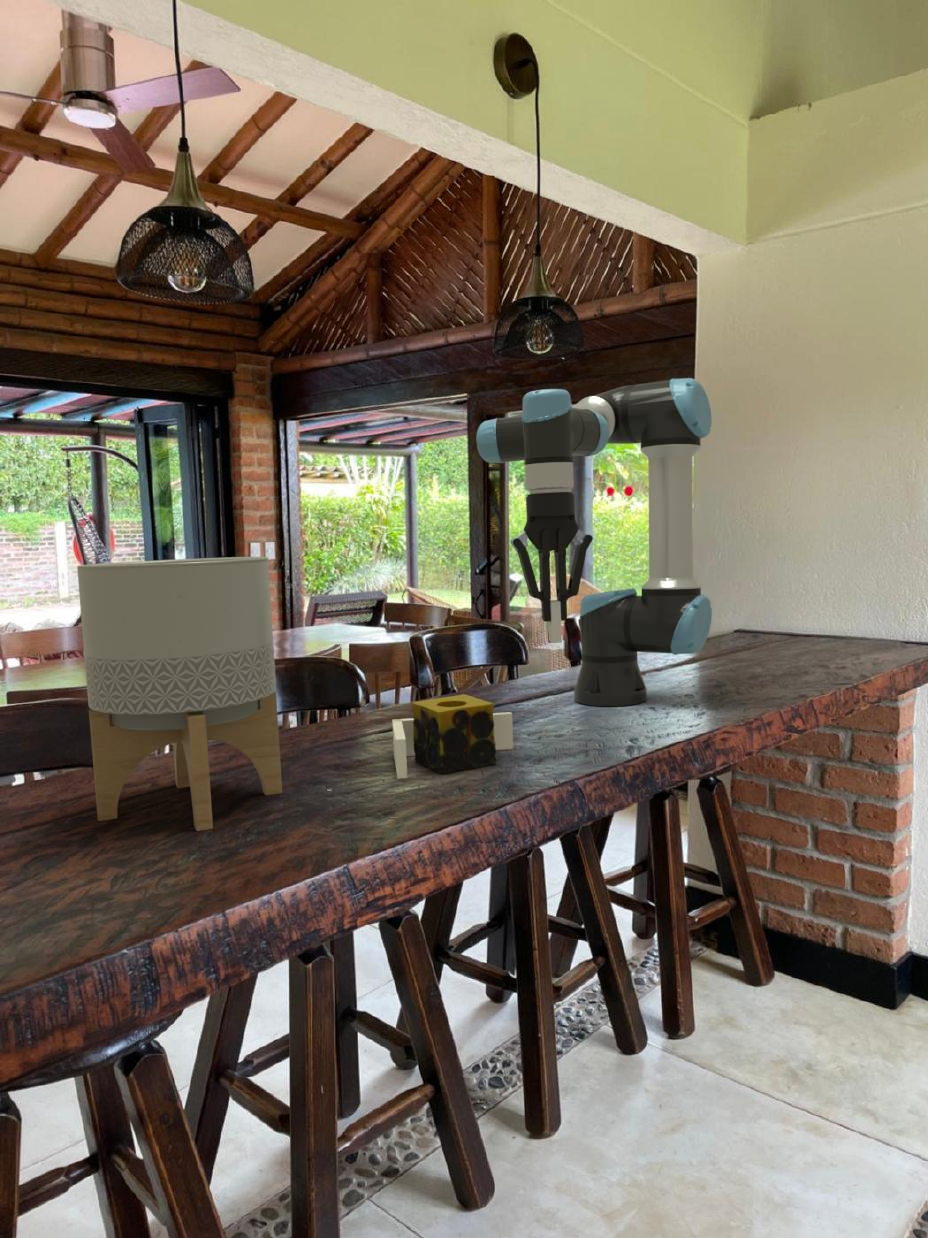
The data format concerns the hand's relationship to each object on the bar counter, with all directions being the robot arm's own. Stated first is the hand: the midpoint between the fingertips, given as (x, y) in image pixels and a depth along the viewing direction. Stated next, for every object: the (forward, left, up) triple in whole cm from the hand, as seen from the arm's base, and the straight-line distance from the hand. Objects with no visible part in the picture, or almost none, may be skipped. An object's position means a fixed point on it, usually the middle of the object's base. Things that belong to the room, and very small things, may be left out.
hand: (555, 641), depth 143 cm
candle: (+17, -1, -19) cm, 25 cm away
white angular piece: (+16, -1, -19) cm, 25 cm away
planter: (+55, +12, -19) cm, 60 cm away
